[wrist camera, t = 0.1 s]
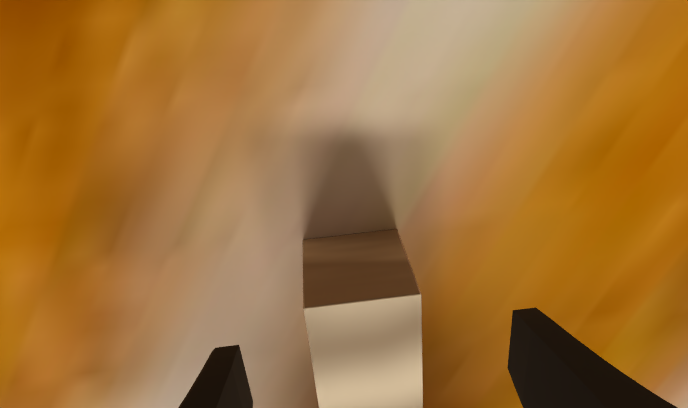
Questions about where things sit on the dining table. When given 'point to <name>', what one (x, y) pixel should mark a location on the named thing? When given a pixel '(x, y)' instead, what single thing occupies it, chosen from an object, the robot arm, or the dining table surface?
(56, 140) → the dining table surface
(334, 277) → the rail
